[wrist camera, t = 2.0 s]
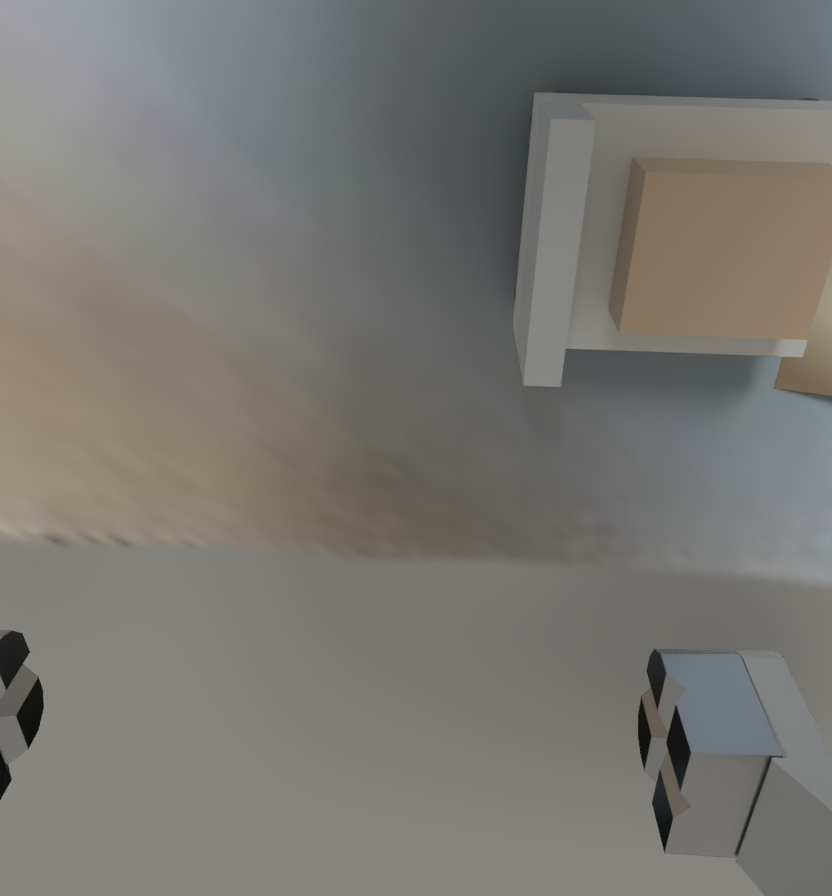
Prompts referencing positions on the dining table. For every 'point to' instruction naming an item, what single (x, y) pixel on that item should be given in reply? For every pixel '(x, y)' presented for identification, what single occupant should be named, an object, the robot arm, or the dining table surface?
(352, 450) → the dining table surface
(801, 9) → the dining table surface
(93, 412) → the dining table surface
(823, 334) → the dock
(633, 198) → the cart
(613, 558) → the dining table surface
